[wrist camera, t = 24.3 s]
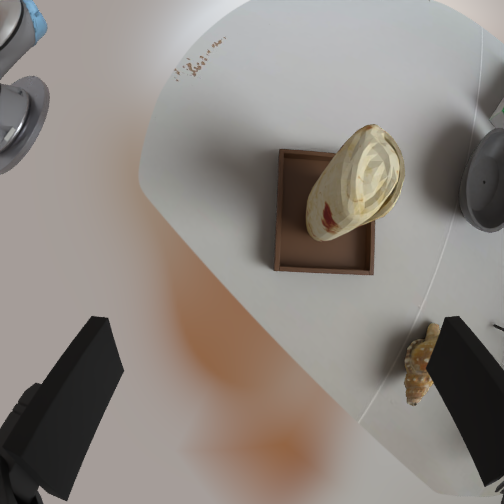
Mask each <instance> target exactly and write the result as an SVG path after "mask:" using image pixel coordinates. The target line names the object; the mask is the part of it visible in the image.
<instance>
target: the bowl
mask: <svg viewBox="0 0 504 504" xmlns="http://www.w3.org/2000/svg"><path fill="white" fill-rule="evenodd" d="M459 203H460V208H461V211H462V213H463V215H464V217H465V218H466V220H467V221H468V222H469V223H470V224H471V225H473V226H474V227H475V228H477V229H479V230H482V231H484V232H489V233H492V232H496V231H499V230H500V229H502V228H503V227H504V128H496V129H494V130H492V131H490V132H489V133H488V134H487V135H486V136H485V137H484V138H483V139H482V141H481V142H480V143H479V145H478V146H477V147H476V149H475V150H474V152H473V154H472V155H471V157H470V159H469V161H468V163H467V165H466V168H465V170H464V173H463V176H462V180H461V184H460V190H459Z"/></svg>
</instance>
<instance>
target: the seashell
mask: <svg viewBox="0 0 504 504" xmlns="http://www.w3.org/2000/svg"><path fill="white" fill-rule="evenodd" d="M440 331H441V330H440V329H439V325H438V324H435V323H431V324H430V325H429V327H428V330H427V333H426V338H425V339H417V340H416V341H413V342H412V343H411V344H410V346H409V347H408V348H407V353H406V357H405V361H404V362H405V368H406V371H407V374H406V378H405V381H404V385H405V387H406V389H407V390H406V397H407V403H408V404H410V405H412V406H415V405H417V403H418V402H419V401H420V400H421V399H422V397H423V396H424V395H425V394H426V393H427V392H428V389H429V387H430V386H431V385H433V384H434V383H433V381H432V379H431V377H430V376H429V374H428V372H427V370H426V369H425V368H426V366H427V364H428V361H429V359H430V357H431V354H432V352H433V349H434V347H435V344H436V341H437V339H438V336H439V333H440Z"/></svg>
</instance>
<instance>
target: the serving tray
mask: <svg viewBox="0 0 504 504" xmlns="http://www.w3.org/2000/svg"><path fill="white" fill-rule="evenodd" d="M335 155H336V154H335V153H326V152H315V151H303V150H289V149H280V150H279V161H278V188H277V212H276V233H275V254H274V271H288V272H309V273H331V274H354V275H373V274H374V249H375V220H374V221H371V222H369V223H367V224H364V225H362V226H360V227H357V228H354V229H353V230H351V231H349V232H348V233H345V234H343V235H341V236H339V237H337V238H335V239H332V240H329V241H323V242H320V241H317V240H314V239H313V238H312V237H311V236H310V235H309V233H308V231H307V227H306V218H305V215H306V208H307V200H308V197H309V194H310V192H311V190H312V188H313V186H314V185H315V183H316V182H317V180H318V179H319V177H320V176H321V174H322V173H323V171H324V170H325V169H326V167H327V166H328V164H329V163H330V162H331V160H332V159H333V157H334V156H335Z"/></svg>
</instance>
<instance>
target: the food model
mask: <svg viewBox="0 0 504 504" xmlns="http://www.w3.org/2000/svg"><path fill="white" fill-rule="evenodd" d="M404 177H405V170H404V160H403V157H402V154H401V150H400V149H399V147H398V145H397V143H396V142H395V140H394V139H393V138H392V137H391V136H390V135H389V134H388V133H387V132H386V131H384V130H383V129H382V128H380V127H379V126H377V125H375V124H371V125H366V126H364V127H363V128H361V129H359V130H358V131H356V132H355V133H354V134H353V135H352V136H351V137H350V138H349V139H348V140H347V141H346V142H345V144H344V145H343V146H342V147H341V148H340V150H339V151H338V152H337V153H336V155H335V156H334V157H333V159H332V160H331V162H330V163H329V164H328V166H327V167H326V169H325V170H324V171H323V173H322V174H321V176H320V177H319V179H318V180H317V182H316V183H315V185H314V186H313V188H312V190H311V192H310V194H309V197H308V200H307V208H306V215H305V218H306V227H307V231H308V233H309V235H310V236H311V237H312V238H313V239H314V240H317V241H320V242H323V241H329V240H332V239H335V238H337V237H339V236H341V235H343V234H345V233H348V232H349V231H351V230H353V229H354V228H357V227H360V226H362V225H364V224H367V223H369V222H371V221H374V220H376V219H378V218H381V217H384V216H385V215H386V214H387V213H388V212H389V211H390V210H391V209H392V208H393V207H394V205H395V203H396V201H397V199H398V197H399V196H400V193H401V189H402V185H403V181H404Z"/></svg>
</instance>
